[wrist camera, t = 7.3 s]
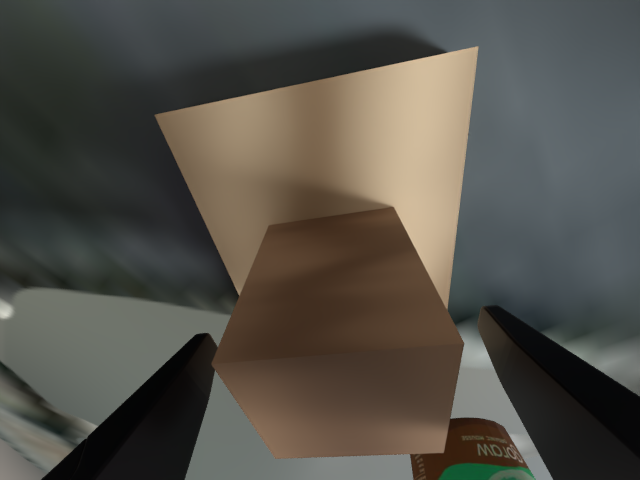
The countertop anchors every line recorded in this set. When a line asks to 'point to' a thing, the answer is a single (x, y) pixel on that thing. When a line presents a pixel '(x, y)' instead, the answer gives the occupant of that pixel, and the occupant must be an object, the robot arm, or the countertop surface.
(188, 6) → the countertop surface
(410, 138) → the oak base
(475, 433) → the food container
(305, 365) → the walnut block
